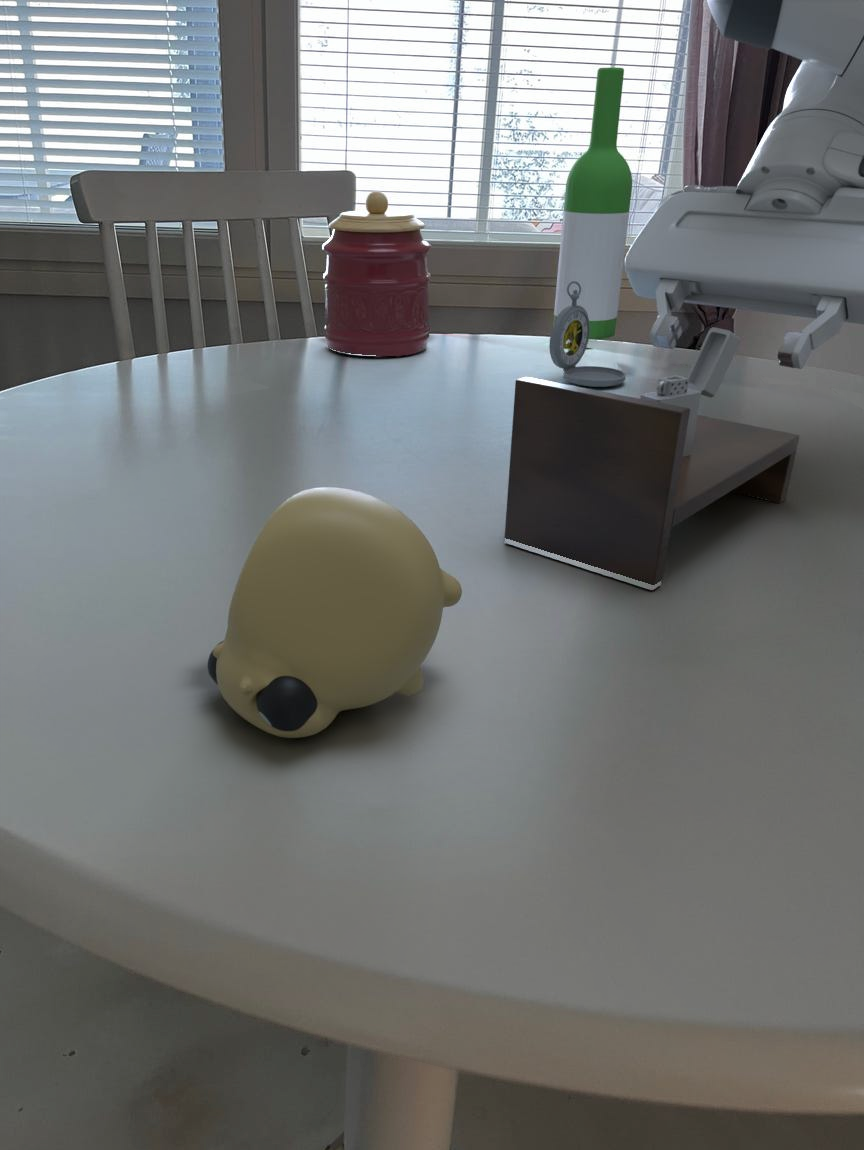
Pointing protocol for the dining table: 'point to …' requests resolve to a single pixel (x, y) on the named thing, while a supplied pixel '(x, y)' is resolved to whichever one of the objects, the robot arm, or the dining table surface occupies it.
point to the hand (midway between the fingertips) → (722, 352)
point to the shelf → (626, 473)
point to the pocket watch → (578, 347)
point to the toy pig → (330, 612)
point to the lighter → (698, 378)
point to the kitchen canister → (377, 282)
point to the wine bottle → (596, 216)
